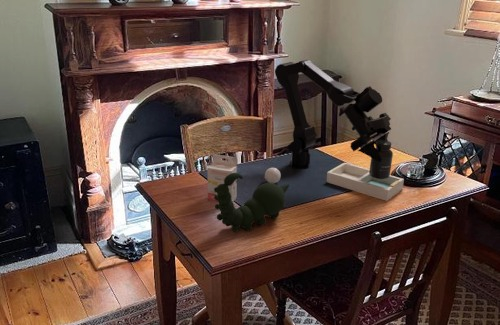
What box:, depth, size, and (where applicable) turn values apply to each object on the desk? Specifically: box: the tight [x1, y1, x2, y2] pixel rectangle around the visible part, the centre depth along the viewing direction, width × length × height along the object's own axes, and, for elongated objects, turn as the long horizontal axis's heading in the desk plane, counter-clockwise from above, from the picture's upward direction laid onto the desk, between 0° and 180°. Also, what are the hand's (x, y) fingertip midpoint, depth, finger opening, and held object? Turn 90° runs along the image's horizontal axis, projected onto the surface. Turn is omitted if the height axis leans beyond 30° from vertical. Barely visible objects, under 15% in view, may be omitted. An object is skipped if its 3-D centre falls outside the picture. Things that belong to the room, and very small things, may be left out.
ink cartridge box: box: [207, 153, 238, 203], centre depth 160 cm, size 9×5×15 cm, turn 71°
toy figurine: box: [214, 172, 290, 233], centre depth 145 cm, size 10×19×26 cm
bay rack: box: [326, 162, 405, 202], centre depth 173 cm, size 23×12×4 cm, turn 50°
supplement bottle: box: [369, 140, 394, 179], centre depth 166 cm, size 7×7×12 cm
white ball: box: [264, 167, 282, 184], centre depth 174 cm, size 8×6×6 cm
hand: (385, 158), depth 165 cm, fingers closed on supplement bottle, 7 cm apart
